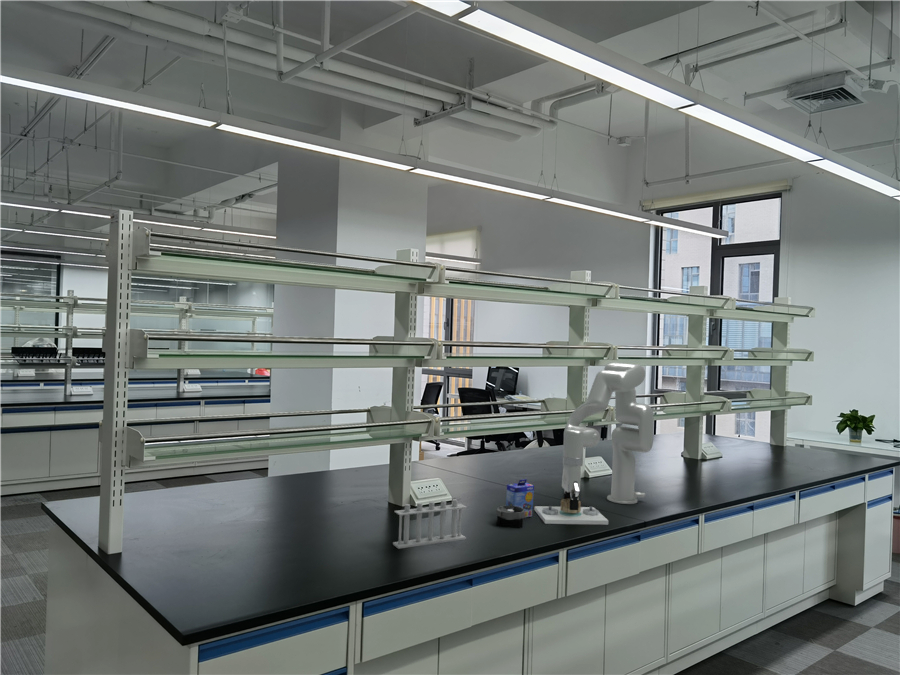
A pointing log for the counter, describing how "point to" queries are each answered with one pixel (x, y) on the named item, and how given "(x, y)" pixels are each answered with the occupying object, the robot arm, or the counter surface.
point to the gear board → (570, 516)
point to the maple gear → (566, 506)
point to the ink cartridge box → (521, 496)
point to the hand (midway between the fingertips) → (570, 506)
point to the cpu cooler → (510, 516)
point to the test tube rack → (429, 524)
